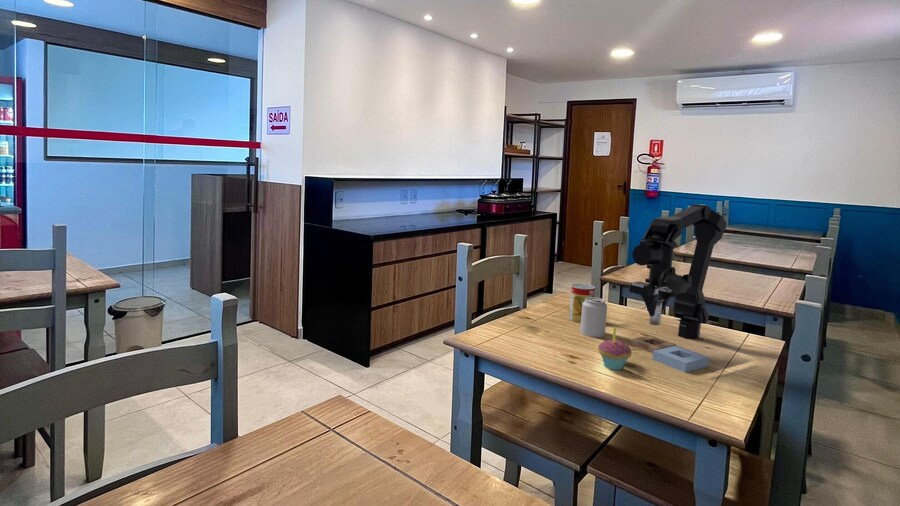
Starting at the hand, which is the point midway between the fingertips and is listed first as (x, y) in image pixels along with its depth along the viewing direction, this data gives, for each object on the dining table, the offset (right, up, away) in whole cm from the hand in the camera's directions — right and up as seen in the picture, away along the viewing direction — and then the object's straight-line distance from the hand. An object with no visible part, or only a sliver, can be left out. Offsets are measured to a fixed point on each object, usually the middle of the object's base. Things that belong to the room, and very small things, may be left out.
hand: (655, 315), depth 154 cm
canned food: (-14, -5, +30) cm, 34 cm away
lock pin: (0, -3, 0) cm, 2 cm away
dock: (+2, -13, -10) cm, 16 cm away
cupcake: (-16, -12, -12) cm, 24 cm away
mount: (0, -10, +2) cm, 11 cm away
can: (-15, -8, +13) cm, 21 cm away
